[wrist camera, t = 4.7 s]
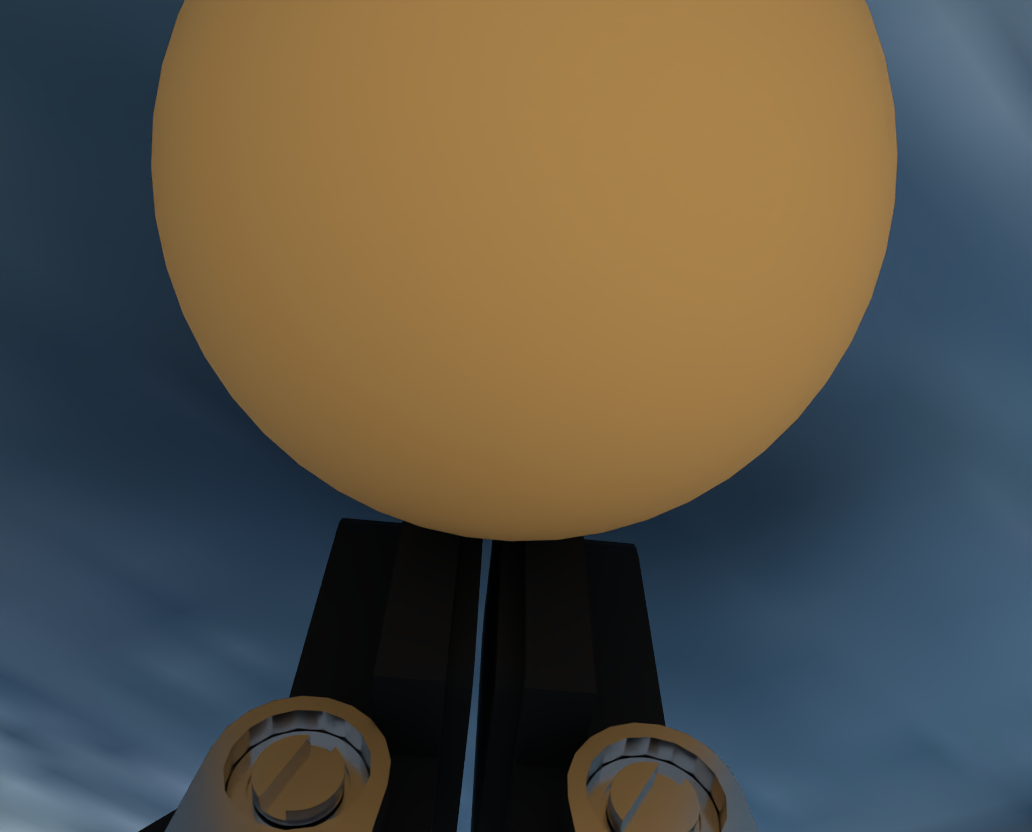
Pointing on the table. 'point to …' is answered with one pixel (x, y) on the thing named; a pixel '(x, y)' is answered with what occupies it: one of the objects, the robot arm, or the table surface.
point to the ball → (524, 239)
